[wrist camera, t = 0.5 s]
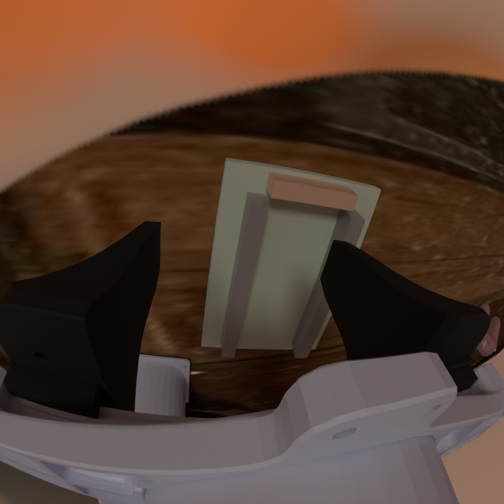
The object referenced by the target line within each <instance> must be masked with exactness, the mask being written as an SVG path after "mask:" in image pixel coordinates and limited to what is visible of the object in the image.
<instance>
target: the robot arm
mask: <svg viewBox="0 0 504 504" xmlns="http://www.w3.org/2000/svg"><path fill="white" fill-rule="evenodd" d="M160 233H161V222H150V221H145V222H144V223H142V224H141V225H139V226H138V227H137V228H135V229H134V230H133V231H131V232H130V233H128V234H127V235H126V236H124V237H123V238H122V239H120V240H119V241H117V242H115V243H114V244H112V245H111V246H109V247H108V248H106V249H105V250H103V251H101V252H100V253H98V254H96V255H94V256H92V257H90V258H88V259H86V260H84V261H82V262H79V263H77V264H75V265H72V266H70V267H67V268H65V269H62V270H59V271H56V272H53V273H50V274H46V275H43V276H39V277H35V278H30V279H25V280H21V281H15V282H12V283H11V285H10V286H9V288H8V289H7V290H6V292H5V293H4V295H3V296H2V298H1V299H0V343H1V345H2V347H3V348H4V350H5V352H6V354H7V356H8V357H9V359H10V361H11V362H12V364H11V366H10V369H9V371H7V370H6V369H4V368H3V367H2V366H0V461H2V462H4V463H7V464H8V465H11V466H13V467H15V468H17V469H19V470H22V471H24V472H26V473H28V474H31V475H33V476H35V477H37V478H40V479H42V480H45V481H47V482H50V483H53V484H55V485H58V486H61V487H64V488H66V489H69V490H72V491H75V492H78V493H81V494H84V495H88V496H91V497H94V498H97V499H98V500H99V504H459V503H458V500H457V498H456V495H455V492H454V489H453V487H452V484H451V482H450V479H449V477H448V474H447V471H446V469H445V467H444V464H443V462H442V459H441V458H442V457H444V456H446V455H448V454H449V453H451V452H453V451H455V450H456V449H458V448H460V447H462V446H463V445H465V444H467V443H469V442H470V441H472V440H474V439H475V438H477V437H479V436H480V435H481V434H482V433H484V432H485V431H486V430H487V429H489V428H490V427H491V426H492V425H493V424H494V423H496V422H497V421H498V420H499V419H500V418H501V417H502V416H503V415H504V381H503V379H502V378H501V376H500V375H499V373H498V371H497V370H496V368H495V367H494V365H493V364H492V363H488V364H485V365H482V366H480V367H478V368H476V369H475V370H474V371H473V369H472V367H471V366H470V365H472V364H473V363H474V360H473V359H472V357H471V356H470V355H471V354H472V353H473V352H474V350H475V349H476V348H477V346H478V345H479V344H480V342H481V341H482V340H483V338H484V336H485V335H486V333H487V331H488V329H489V326H490V321H491V320H490V316H489V315H488V314H487V312H486V311H485V310H484V309H482V308H480V307H477V306H473V305H470V304H466V303H462V302H459V301H456V300H453V299H450V298H447V297H444V296H442V295H439V294H437V293H435V292H432V291H430V290H428V289H425V288H423V287H421V286H419V285H417V284H415V283H414V282H412V281H410V280H408V279H406V278H404V277H403V276H401V275H399V274H398V273H396V272H395V271H393V270H391V269H390V268H388V267H387V266H385V265H383V264H382V263H380V262H379V261H377V260H376V259H374V258H373V257H371V256H370V255H368V254H367V253H365V252H364V251H362V250H361V249H359V248H358V247H356V246H354V245H352V244H350V243H348V242H346V241H339V240H333V242H332V245H331V248H330V251H329V254H328V257H327V260H326V263H325V266H324V268H323V271H322V274H321V277H320V280H321V285H322V289H323V292H324V296H325V299H326V301H327V304H328V306H329V308H330V311H331V313H332V315H333V318H334V320H335V322H336V325H337V327H338V329H339V332H340V334H341V336H342V339H343V342H344V345H345V349H346V352H347V356H348V360H346V361H341V362H336V363H332V364H328V365H323V366H320V367H318V368H316V369H315V370H313V371H311V372H309V373H307V374H305V375H303V376H301V377H300V378H299V379H298V380H297V381H296V382H295V383H294V384H293V385H292V386H291V387H290V388H289V389H288V391H287V392H286V393H285V395H284V397H283V399H282V401H281V403H280V405H279V406H278V408H277V409H272V410H266V411H261V412H255V413H249V414H243V415H237V416H230V417H222V418H192V417H185V403H187V402H188V401H189V377H190V361H189V360H188V359H182V358H171V357H161V356H152V355H144V354H140V349H141V342H142V336H143V331H144V327H145V324H146V320H147V317H148V313H149V310H150V307H151V303H152V300H153V297H154V293H155V290H156V287H157V281H158V275H159V270H160Z"/></svg>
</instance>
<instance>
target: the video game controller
mask: <svg viewBox="0 0 504 504" xmlns="http://www.w3.org/2000/svg"><path fill="white" fill-rule="evenodd" d="M479 307H480V308H482V309H484V310H485V311H486V312H487V314H488V315H489V316H490V307H489V305H488V304H487V303H482V304H481V305H480V306H479ZM499 329H500V319H499V318H498V317H496V316H495V317H493V318H492V319H491V321H490V326H489V329H488V331H487V333H486V335H485V336H484V338H483V340H482V341H481V342H480V344H479V345H478V346H477V348H476V349H478V350H479V352H480V353H481V354H482V355H483V356H488V355H490V354H492V352H493V351H496V349H495V348H496V347H497V339H498V334H499Z"/></svg>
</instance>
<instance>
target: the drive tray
mask: <svg viewBox="0 0 504 504" xmlns="http://www.w3.org/2000/svg"><path fill="white" fill-rule="evenodd" d="M380 191H381V190H380V189H379V188H378V187H376V186H373V185H369V184H364V183H360V182H356V181H352V180H347V179H343V178H338V177H334V176H329V175H324V174H319V173H314V172H309V171H304V170H299V169H293V168H288V167H282V166H276V165H270V164H264V163H258V162H251V161H244V160H237V159H230V158H226V159H225V165H224V171H223V177H222V183H221V190H220V197H219V203H218V210H217V217H216V224H215V231H214V238H213V246H212V253H211V261H210V269H209V277H208V285H207V294H206V302H205V311H204V320H203V330H202V339H201V346H205V347H220V348H221V357H234V356H235V352H236V348H241V349H284V350H293V351H294V355H295V358H307V357H308V355H309V353H310V350H311V349H315V348H316V346H317V344H318V342H319V340H320V338H321V336H322V334H323V332H324V330H325V328H326V326H327V323H328V321H329V319H330V317H331V315H332V313H331V311H330V308H329V306H328V304H327V301H326V299H325V296H324V292H323V289H322V285H321V280H320V277H321V274H322V271H323V268H324V266H325V263H326V260H327V257H328V254H329V251H330V248H331V245H332V242H333V240H339V241H346V242H348V243H350V244H352V245H354V246H356V247H358V248H359V249H360V247H361V244H362V242H363V239H364V236H365V234H366V231H367V228H368V226H369V223H370V220H371V217H372V215H373V212H374V209H375V206H376V203H377V200H378V197H379V194H380Z"/></svg>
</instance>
